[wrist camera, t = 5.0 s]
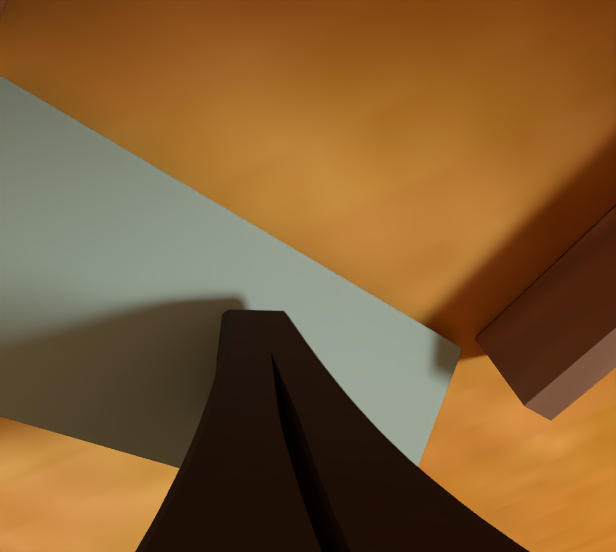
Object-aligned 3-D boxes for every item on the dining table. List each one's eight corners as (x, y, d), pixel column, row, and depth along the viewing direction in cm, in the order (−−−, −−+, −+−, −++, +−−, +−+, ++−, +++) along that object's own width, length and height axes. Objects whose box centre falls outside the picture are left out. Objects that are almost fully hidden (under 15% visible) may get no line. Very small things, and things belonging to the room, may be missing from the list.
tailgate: (2, 75, 8) (-173, 366, 8) (462, 348, 14) (394, 529, 14) (1, 80, 9) (-167, 362, 8) (454, 346, 15) (386, 524, 14)
